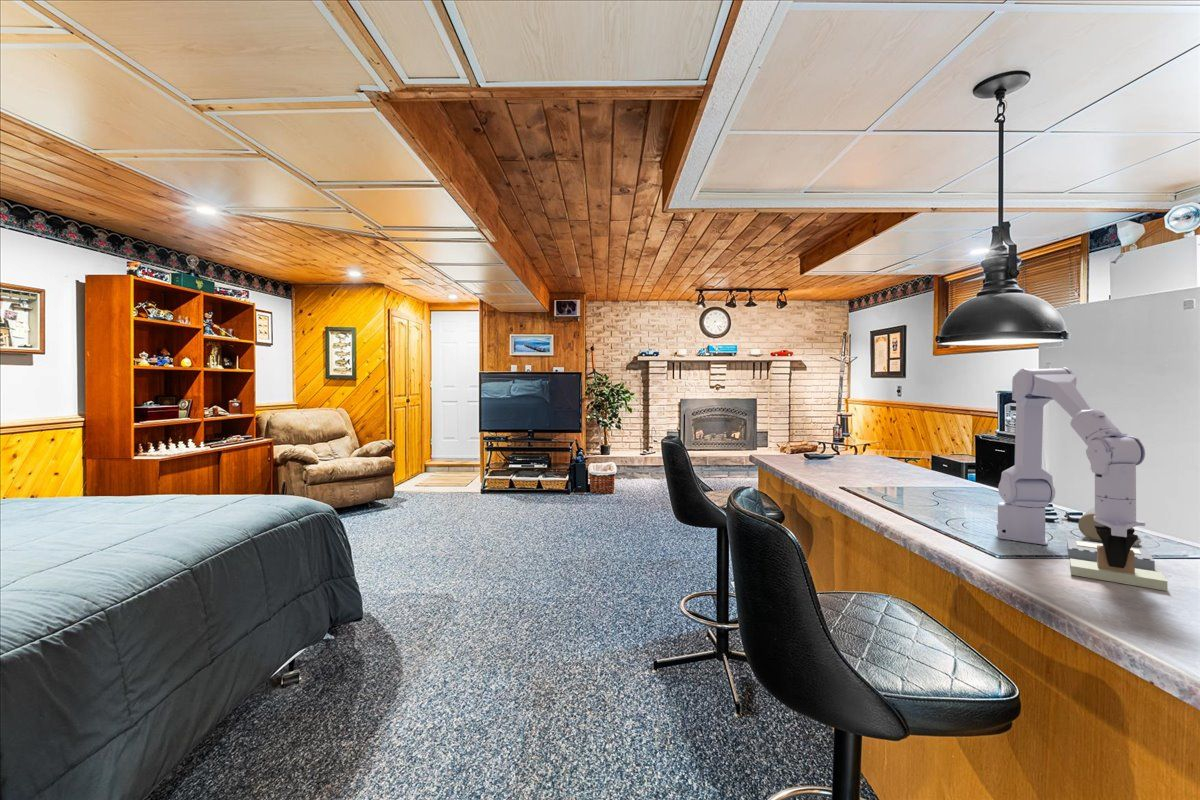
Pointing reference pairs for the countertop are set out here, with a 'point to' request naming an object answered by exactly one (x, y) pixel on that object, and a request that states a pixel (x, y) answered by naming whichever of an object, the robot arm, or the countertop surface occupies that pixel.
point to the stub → (1118, 571)
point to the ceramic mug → (1093, 527)
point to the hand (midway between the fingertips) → (1115, 564)
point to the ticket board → (1089, 549)
